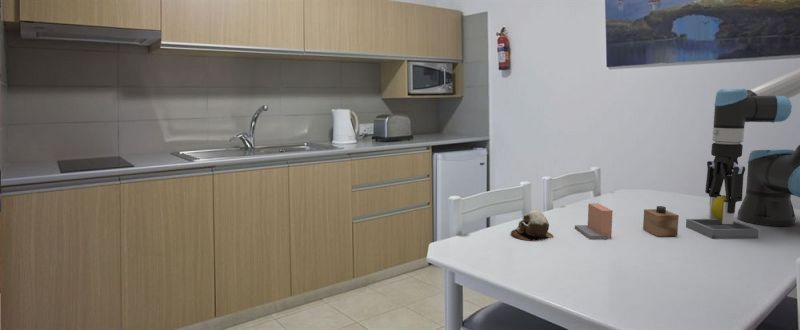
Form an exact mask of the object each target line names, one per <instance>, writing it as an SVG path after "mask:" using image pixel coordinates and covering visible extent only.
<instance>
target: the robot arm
mask: <svg viewBox="0 0 800 330" xmlns="http://www.w3.org/2000/svg"><path fill="white" fill-rule="evenodd" d="M799 94H800V66H798V67H795V68H794V69H791V70H788V71H786V72H784V73H782V74H780V75H778V76H776V77H774V78H771V79H769V80H767V81H764V82H762V83H760V84H756V86H753V87H751V88H749V89H746V88H721V89H718V90H717V92H716V95H715V100H714V112H713V113H714V115H713V130H712V141H713V143H711V151H710V153H711V156H713V157H714V159H713V160H711V161H710V160H708V161H707V162H706V166H707V167H706V168H707V174H706V184H705V190H704V191H705V194H708V196H709V198H710V199H709V213H708V219H717V218H715V217H714V215H713V213H712V204H713V202H714V200H715V199H716V198H718V197H721V196H722V195H721V191H722V187H723V184H724V191H725V196H726V200H724V208H723V220H722V224H733V221H735V220H734V219H735V212H736V203H738V202H741V205H740V207H739V208H738V211H737V215H736V216H737V219H738V220H740V221H742V222H745V223H746V222H747V223H750V224H754V225H755V224H756V225H762V226H769V227H770V226H773V227H790V226H795V225H796V222H797V221H796V219H797V217H796V214H795V210H794V207H793V204H792V200H791V197H792V196H795V197H797V198H800V144H798V146H797V147H796V148H795V150H794V149H784V148H783V149H755V150H751V152H749V154H748V161H747V164H748V165H747V177H746V185H745V186H746V187H745V188H746V189H745V196H744V198H743V191H744V190H743V188H744V175H745V171H746V167H745V166H742V165H741V166H740V165H739V162H738V161H739V160H738V159H739V158H740V157H742V156H743V147H744V145H743V144H742V143H743V142H744V140H745V139H744V138H745V137H744V136H745V123H782V122H784V121H786V120H788V119H789V117H790V116H791V113H792V108H793V106H792V102H791V100H790V98H792V97H795V96H798V95H799Z"/></svg>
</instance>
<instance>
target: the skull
mask: <svg viewBox="0 0 800 330" xmlns="http://www.w3.org/2000/svg"><path fill="white" fill-rule="evenodd" d="M549 228H550V223H549V220H548V219H547V217H546V216H545V215H544V214H543V212H540V211H539V210H536V209H535V210H534V209H533V210H530V211H528V212H527V211H526V212H525V214H524V215H523V217H522V219H521V220H519V221H518V225H517V226H516V228H515V229H513V230H511V231H510V234H511V235H512V236H513V238H517V239H518V240H521V241H528V242H537V241H539V240H546V239H553V238H554V235H553V234H552V233H551V232H549Z"/></svg>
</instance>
